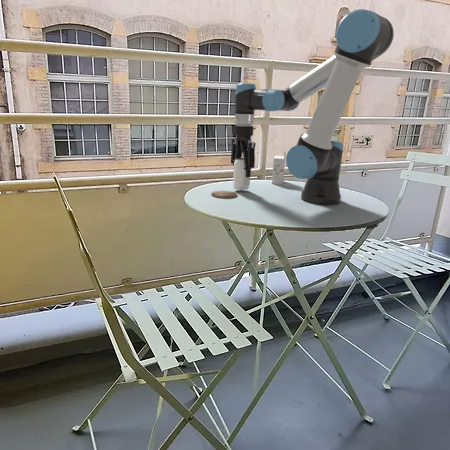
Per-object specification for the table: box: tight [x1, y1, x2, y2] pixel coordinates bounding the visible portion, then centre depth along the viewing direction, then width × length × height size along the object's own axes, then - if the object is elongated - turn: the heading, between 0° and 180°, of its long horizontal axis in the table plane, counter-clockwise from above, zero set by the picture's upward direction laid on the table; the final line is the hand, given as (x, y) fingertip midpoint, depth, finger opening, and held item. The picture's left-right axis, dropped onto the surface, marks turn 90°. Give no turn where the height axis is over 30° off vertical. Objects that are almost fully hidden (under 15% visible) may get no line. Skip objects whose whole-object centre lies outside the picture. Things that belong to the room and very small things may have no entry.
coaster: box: [211, 190, 238, 199], centre depth 153 cm, size 10×10×1 cm
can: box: [232, 157, 250, 191], centre depth 159 cm, size 6×6×12 cm
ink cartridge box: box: [271, 149, 287, 185], centre depth 179 cm, size 9×5×15 cm, turn 168°
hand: (241, 183), depth 160 cm, fingers closed on can, 6 cm apart
